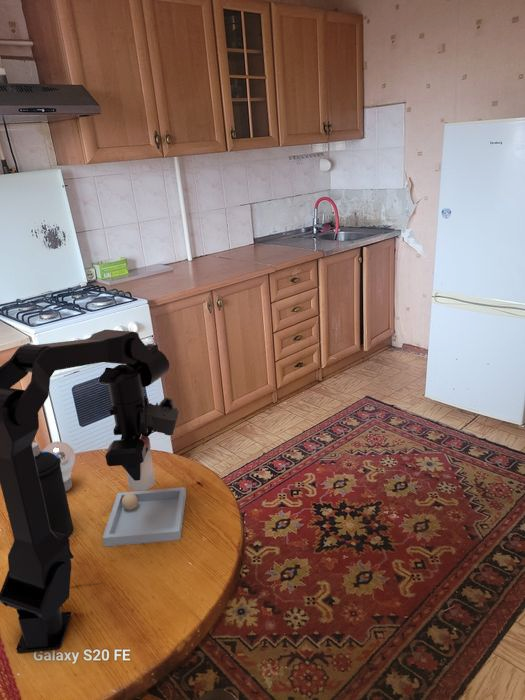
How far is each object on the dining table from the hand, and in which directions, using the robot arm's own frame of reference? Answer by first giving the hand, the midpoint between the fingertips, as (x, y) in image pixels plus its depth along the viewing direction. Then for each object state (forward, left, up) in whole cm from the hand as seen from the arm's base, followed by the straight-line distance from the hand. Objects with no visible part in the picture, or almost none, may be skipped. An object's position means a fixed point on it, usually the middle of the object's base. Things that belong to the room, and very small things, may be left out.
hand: (139, 472), depth 102 cm
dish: (0, 0, -11) cm, 11 cm away
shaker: (0, 0, -3) cm, 3 cm away
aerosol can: (-2, +18, -12) cm, 21 cm away
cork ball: (+4, +4, -11) cm, 12 cm away
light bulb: (+13, +20, -12) cm, 27 cm away
